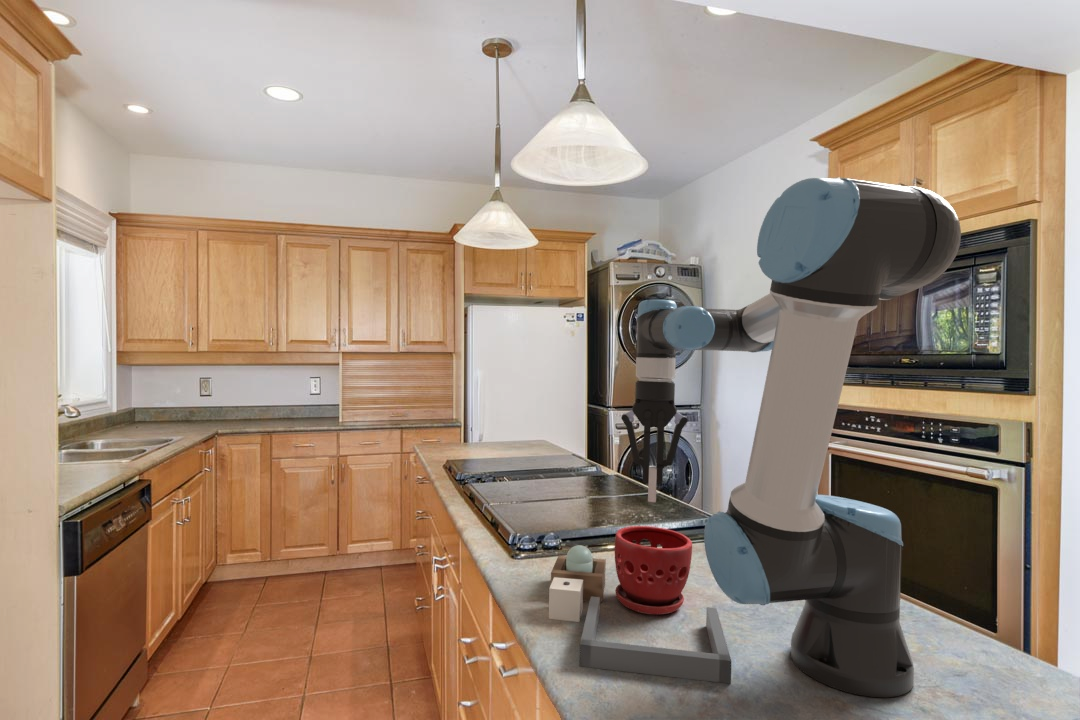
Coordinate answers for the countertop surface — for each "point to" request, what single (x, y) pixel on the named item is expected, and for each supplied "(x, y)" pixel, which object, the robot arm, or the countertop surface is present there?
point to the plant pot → (652, 568)
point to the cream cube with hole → (566, 599)
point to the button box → (584, 577)
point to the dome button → (579, 559)
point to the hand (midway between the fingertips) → (651, 500)
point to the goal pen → (657, 653)
